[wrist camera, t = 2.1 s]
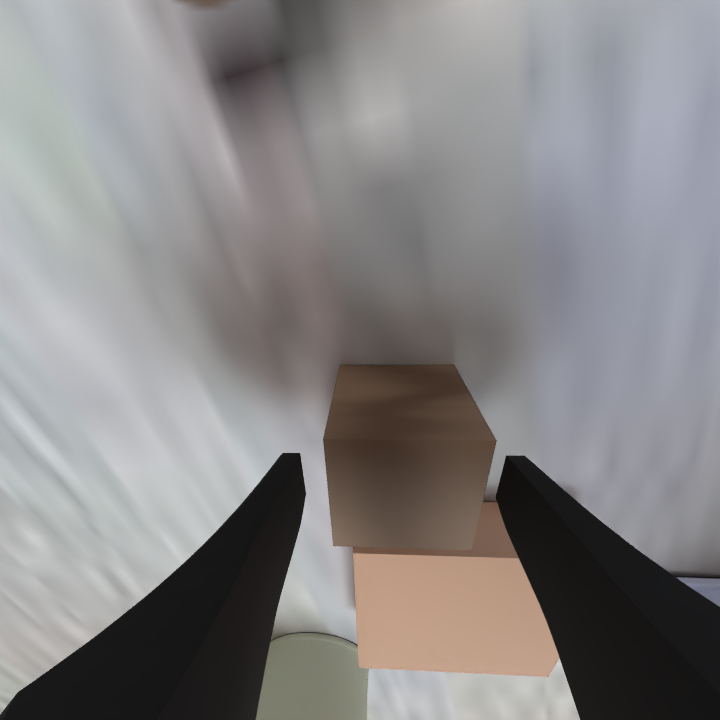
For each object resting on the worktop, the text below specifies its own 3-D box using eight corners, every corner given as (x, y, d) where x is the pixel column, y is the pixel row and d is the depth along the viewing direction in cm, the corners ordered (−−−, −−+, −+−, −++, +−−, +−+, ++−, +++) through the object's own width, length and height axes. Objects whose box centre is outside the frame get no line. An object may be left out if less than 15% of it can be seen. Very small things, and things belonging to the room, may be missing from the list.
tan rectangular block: (574, 503, 16) (615, 561, 13) (526, 618, 21) (548, 676, 19) (356, 499, 17) (353, 553, 14) (360, 612, 22) (358, 667, 19)
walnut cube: (453, 363, 13) (496, 440, 8) (442, 451, 15) (471, 549, 11) (340, 363, 13) (322, 438, 9) (345, 450, 15) (333, 546, 11)
